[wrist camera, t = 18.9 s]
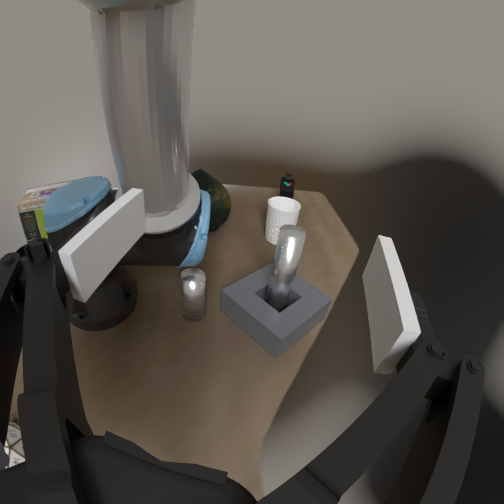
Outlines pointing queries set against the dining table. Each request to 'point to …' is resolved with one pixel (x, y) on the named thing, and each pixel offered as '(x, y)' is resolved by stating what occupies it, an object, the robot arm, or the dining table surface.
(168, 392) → the dining table surface
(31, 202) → the tea box
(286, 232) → the long steel pin
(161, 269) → the dining table surface
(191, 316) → the short steel pin
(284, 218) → the white cup
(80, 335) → the dining table surface
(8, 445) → the game die
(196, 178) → the squash
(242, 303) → the charcoal collar block
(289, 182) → the controller
